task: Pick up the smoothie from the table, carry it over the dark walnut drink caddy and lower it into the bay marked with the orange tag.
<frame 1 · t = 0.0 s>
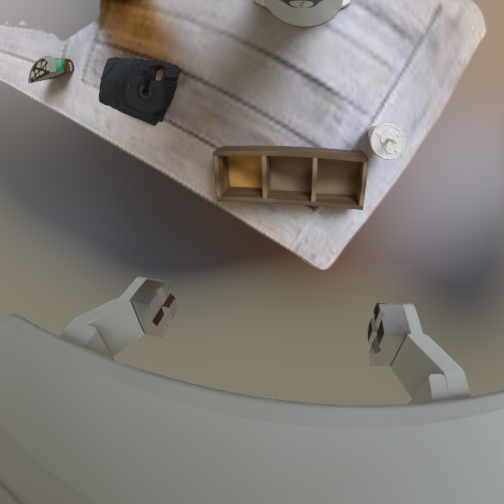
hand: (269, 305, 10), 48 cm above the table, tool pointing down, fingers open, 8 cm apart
caddy: (292, 170, 55), on the table
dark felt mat: (137, 85, 51), on the table
food container: (64, 65, 48), on the table
smoothie: (376, 134, 47), on the table
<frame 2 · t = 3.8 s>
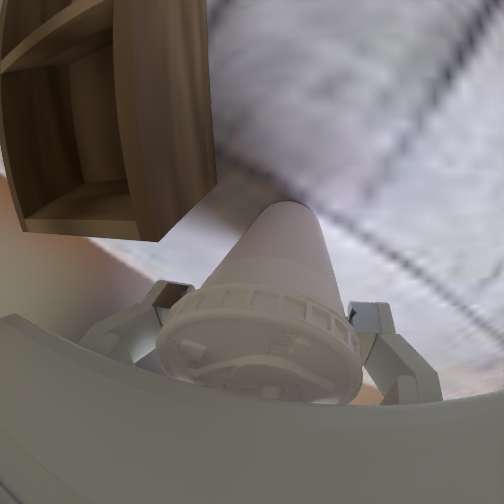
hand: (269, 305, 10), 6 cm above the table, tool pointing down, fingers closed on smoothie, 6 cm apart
smoothie: (288, 230, 16), on the table, touching gripper
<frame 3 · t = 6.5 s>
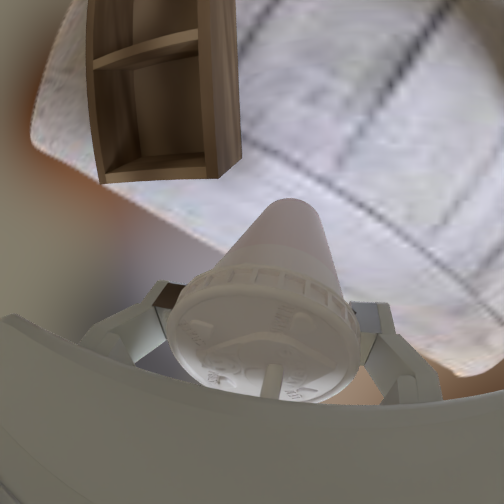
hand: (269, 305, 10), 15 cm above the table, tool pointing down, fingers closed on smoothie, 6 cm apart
caddy: (179, 13, 16), on the table
smoothie: (290, 226, 16), point 8 cm above the table, touching gripper
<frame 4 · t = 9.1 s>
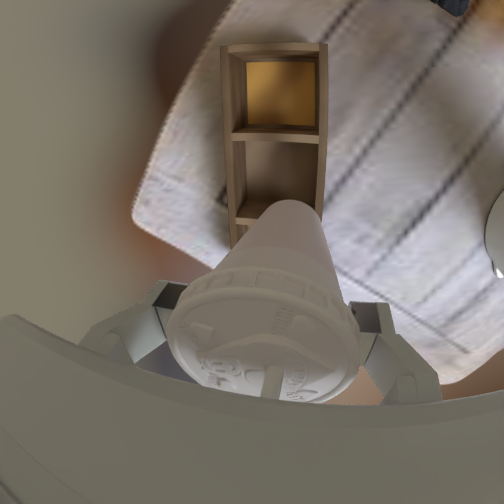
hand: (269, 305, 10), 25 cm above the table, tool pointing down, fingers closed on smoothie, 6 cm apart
caddy: (282, 167, 32), on the table
smoothie: (290, 227, 16), point 18 cm above the table, touching gripper
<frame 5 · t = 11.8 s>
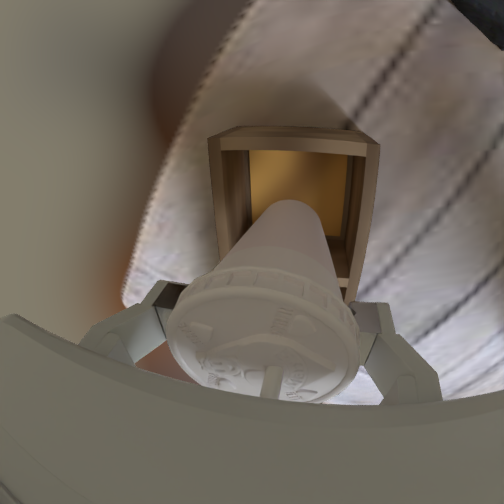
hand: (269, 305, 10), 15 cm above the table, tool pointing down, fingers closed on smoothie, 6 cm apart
caddy: (294, 276, 27), on the table
smoothie: (290, 227, 16), point 7 cm above the table, touching gripper
when the fingers open (10 cm above the table, at t = 14.1 s): smoothie moves 1 cm, resting on caddy.
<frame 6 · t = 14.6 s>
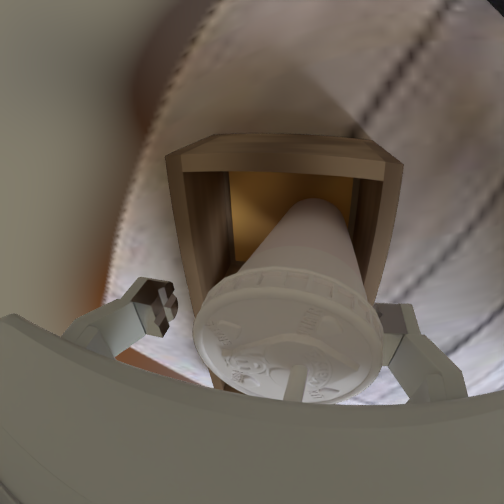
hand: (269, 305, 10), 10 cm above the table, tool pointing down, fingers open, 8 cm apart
caddy: (286, 310, 23), on the table
smoothie: (314, 225, 16), point 2 cm above the table, touching caddy, gripper
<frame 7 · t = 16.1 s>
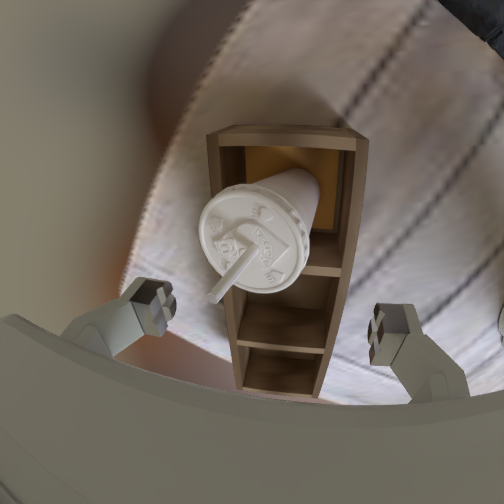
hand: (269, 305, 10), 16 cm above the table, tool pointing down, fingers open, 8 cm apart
caddy: (289, 269, 28), on the table
smoothie: (298, 189, 22), point 1 cm above the table, touching caddy
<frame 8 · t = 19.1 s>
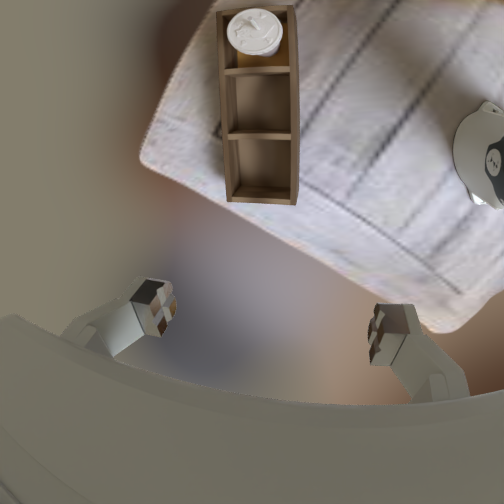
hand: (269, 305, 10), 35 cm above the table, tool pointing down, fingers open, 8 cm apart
caddy: (266, 102, 37), on the table
smoothie: (267, 46, 31), point 1 cm above the table, touching caddy
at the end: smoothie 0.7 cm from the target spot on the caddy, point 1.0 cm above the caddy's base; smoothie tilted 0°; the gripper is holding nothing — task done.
